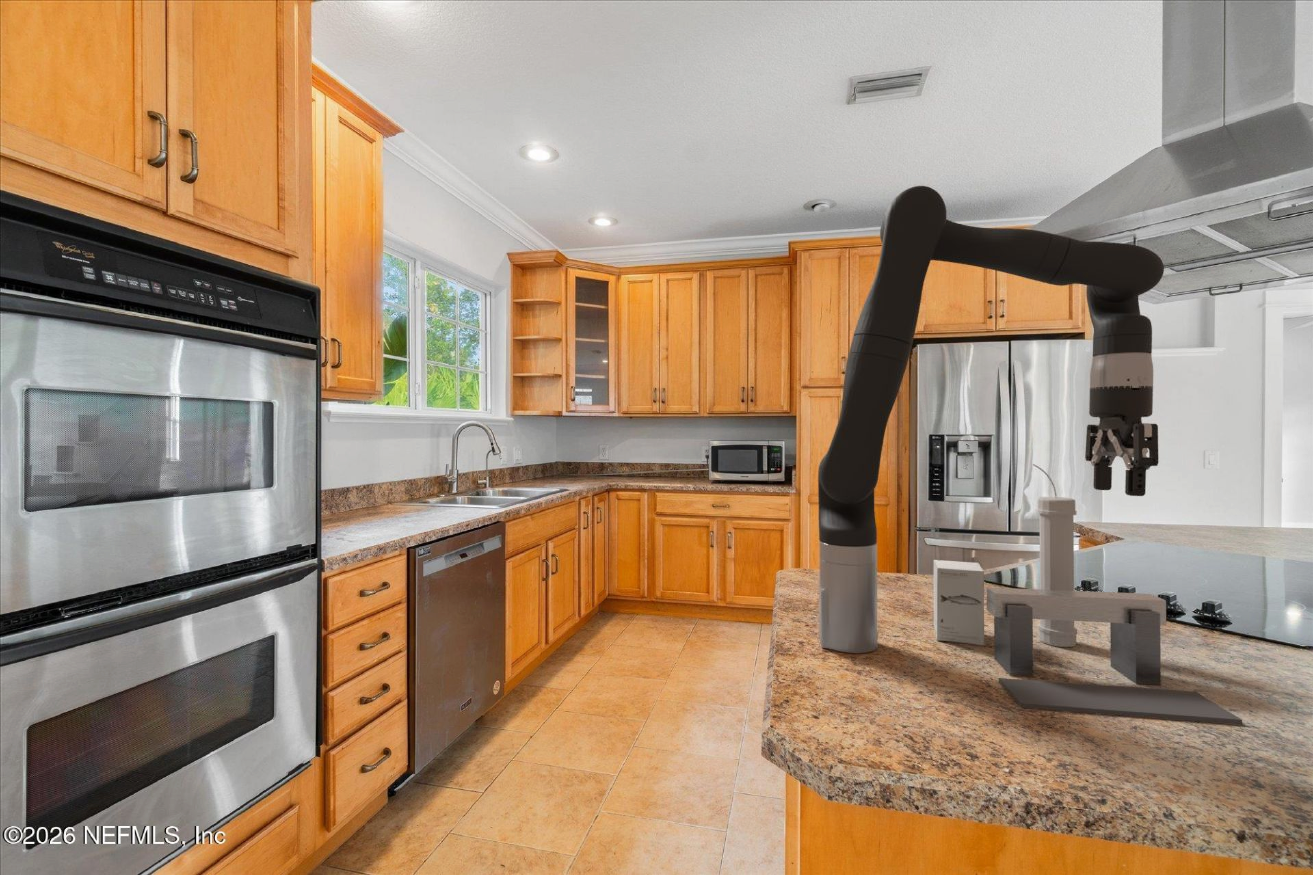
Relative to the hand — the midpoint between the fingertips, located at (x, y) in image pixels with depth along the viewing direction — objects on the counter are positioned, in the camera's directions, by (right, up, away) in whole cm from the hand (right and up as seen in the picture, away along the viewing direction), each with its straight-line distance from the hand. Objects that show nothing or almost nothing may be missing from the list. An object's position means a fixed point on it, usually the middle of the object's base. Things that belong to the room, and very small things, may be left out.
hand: (1118, 492), depth 89 cm
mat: (-10, -26, -12) cm, 31 cm away
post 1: (-16, -26, -1) cm, 31 cm away
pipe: (-3, -26, +10) cm, 28 cm away
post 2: (-1, -26, -4) cm, 26 cm away
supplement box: (-18, -27, +13) cm, 34 cm away
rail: (-9, -18, -2) cm, 20 cm away
